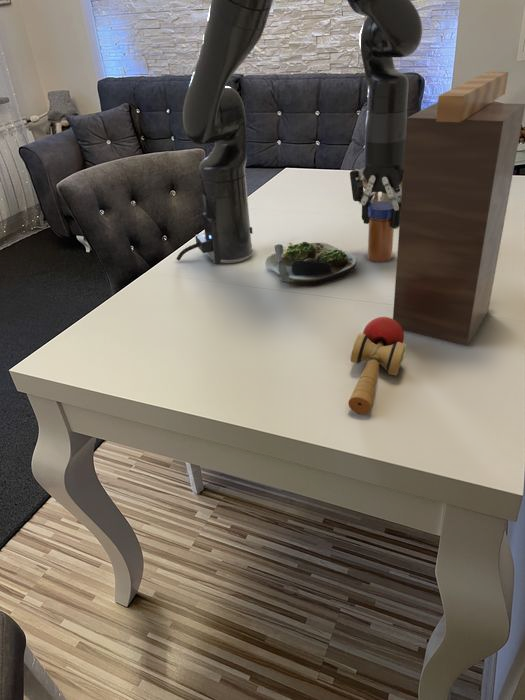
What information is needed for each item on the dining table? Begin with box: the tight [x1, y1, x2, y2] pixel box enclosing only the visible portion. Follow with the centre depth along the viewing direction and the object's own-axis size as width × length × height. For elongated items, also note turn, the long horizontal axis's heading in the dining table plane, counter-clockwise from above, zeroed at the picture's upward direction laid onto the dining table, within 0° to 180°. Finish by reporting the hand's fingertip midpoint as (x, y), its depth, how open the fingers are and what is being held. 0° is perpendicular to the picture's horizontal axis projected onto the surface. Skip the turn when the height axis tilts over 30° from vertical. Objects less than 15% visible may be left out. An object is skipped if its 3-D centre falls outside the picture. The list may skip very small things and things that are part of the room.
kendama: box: [347, 316, 407, 415], centre depth 75 cm, size 8×6×18 cm
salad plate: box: [264, 241, 358, 287], centre depth 109 cm, size 19×18×5 cm
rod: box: [436, 71, 509, 123], centre depth 72 cm, size 22×3×3 cm, turn 146°
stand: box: [392, 101, 525, 347], centre depth 80 cm, size 12×12×32 cm
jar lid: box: [368, 200, 394, 220], centre depth 106 cm, size 6×6×2 cm
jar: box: [367, 217, 395, 263], centre depth 108 cm, size 5×5×10 cm
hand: (381, 224), depth 108 cm, fingers closed on jar lid, 5 cm apart
